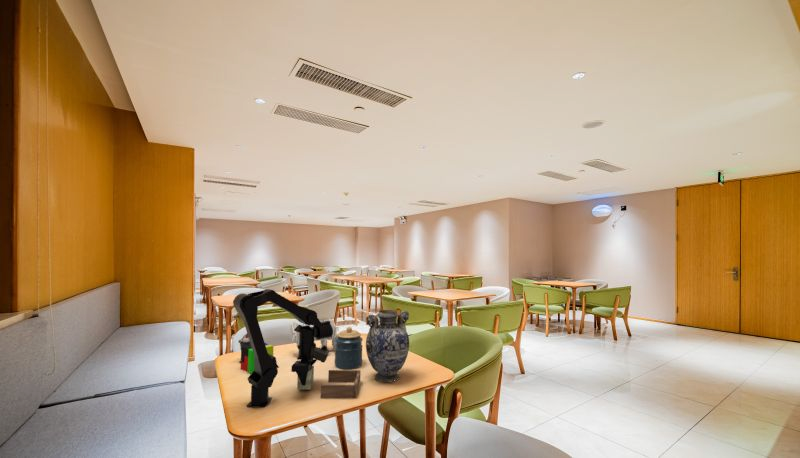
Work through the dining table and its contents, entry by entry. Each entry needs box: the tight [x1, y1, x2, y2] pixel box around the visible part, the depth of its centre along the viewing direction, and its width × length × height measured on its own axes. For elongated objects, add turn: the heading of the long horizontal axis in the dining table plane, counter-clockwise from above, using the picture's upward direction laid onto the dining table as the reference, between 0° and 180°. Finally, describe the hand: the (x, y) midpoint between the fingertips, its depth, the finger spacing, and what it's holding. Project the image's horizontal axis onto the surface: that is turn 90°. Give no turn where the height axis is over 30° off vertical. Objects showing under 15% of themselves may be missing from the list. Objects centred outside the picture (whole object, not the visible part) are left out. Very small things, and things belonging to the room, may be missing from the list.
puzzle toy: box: [240, 342, 274, 375], centre depth 153 cm, size 10×10×10 cm
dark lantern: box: [238, 333, 250, 364], centre depth 162 cm, size 7×7×15 cm
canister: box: [334, 326, 363, 370], centre depth 159 cm, size 13×13×18 cm
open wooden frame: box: [319, 369, 361, 399], centre depth 131 cm, size 16×13×4 cm
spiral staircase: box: [289, 317, 341, 351], centre depth 177 cm, size 18×18×25 cm
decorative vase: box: [365, 309, 410, 383], centre depth 144 cm, size 21×19×28 cm
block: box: [296, 365, 315, 390], centre depth 131 cm, size 5×5×7 cm
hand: (305, 382), depth 131 cm, fingers closed on block, 5 cm apart
